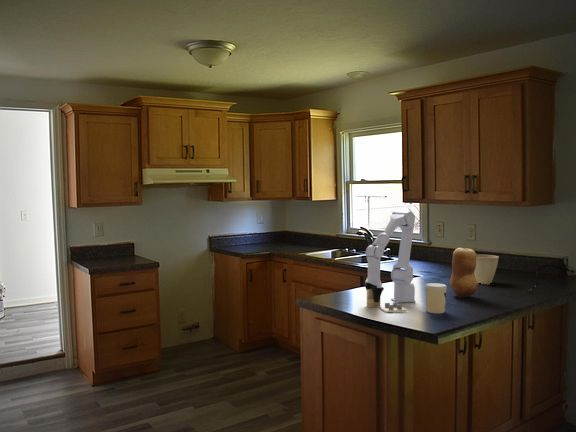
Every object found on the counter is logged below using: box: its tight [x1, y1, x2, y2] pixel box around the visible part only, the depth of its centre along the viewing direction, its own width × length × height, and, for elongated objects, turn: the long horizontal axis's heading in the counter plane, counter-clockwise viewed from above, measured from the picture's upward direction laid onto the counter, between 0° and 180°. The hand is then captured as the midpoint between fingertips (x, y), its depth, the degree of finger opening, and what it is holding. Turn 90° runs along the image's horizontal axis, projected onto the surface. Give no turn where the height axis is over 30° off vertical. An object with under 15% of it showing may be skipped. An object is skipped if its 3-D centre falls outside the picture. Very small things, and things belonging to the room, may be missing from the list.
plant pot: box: [474, 254, 500, 285], centre depth 305 cm, size 15×15×16 cm
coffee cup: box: [424, 282, 448, 314], centre depth 236 cm, size 9×9×12 cm
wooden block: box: [366, 289, 382, 308], centre depth 245 cm, size 6×2×8 cm, turn 102°
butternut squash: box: [449, 247, 478, 299], centre depth 266 cm, size 14×13×25 cm
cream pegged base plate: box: [379, 302, 408, 314], centre depth 237 cm, size 10×7×3 cm
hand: (373, 300), depth 245 cm, fingers open, 7 cm apart
